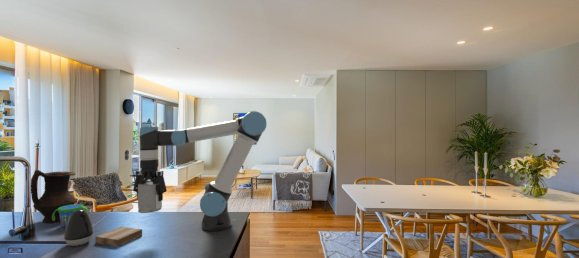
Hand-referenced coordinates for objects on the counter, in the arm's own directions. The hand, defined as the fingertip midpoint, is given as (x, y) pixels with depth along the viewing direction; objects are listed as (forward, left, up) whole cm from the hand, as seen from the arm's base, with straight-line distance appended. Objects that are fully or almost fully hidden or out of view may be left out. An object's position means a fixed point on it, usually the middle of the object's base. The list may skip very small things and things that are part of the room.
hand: (150, 207), depth 123 cm
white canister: (0, 0, -1) cm, 1 cm away
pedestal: (+14, +3, -15) cm, 21 cm away
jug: (+74, -7, -15) cm, 76 cm away
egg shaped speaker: (+27, +12, -15) cm, 34 cm away
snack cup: (+56, -4, -15) cm, 59 cm away
